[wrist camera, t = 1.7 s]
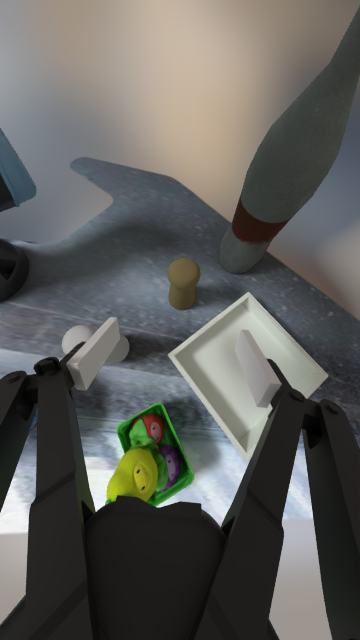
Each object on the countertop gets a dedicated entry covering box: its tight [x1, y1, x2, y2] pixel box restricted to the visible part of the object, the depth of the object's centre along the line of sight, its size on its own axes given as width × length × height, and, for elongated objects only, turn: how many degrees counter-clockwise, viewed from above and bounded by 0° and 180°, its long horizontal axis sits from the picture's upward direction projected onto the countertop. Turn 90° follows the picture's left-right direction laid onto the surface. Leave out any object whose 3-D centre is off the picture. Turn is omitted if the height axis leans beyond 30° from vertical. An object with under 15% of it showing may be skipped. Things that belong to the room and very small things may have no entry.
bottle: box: [219, 6, 360, 274], centre depth 22 cm, size 9×9×30 cm
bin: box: [168, 292, 329, 462], centre depth 28 cm, size 20×20×4 cm
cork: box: [168, 257, 200, 310], centre depth 28 cm, size 6×6×11 cm
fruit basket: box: [105, 402, 194, 507], centre depth 21 cm, size 11×9×11 cm
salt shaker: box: [62, 325, 129, 365], centre depth 24 cm, size 6×6×13 cm
